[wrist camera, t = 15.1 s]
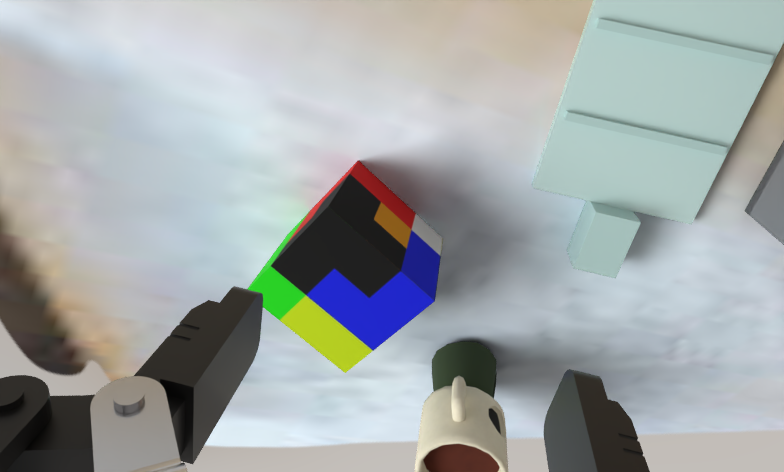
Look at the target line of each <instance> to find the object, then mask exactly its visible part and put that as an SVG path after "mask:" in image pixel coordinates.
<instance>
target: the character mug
mask: <svg viewBox="0 0 784 472" xmlns="http://www.w3.org/2000/svg"><path fill="white" fill-rule="evenodd" d="M496 375H497V371H496V359H495V357H494V356H493V354H492V353H491V351H490V350H489V349H487V348H485V347H484V346H482V345H481V344H479V343H476V342H457V343H452V344H447V345H446V346H444V347H443V348H441V349H439V350H438V351H437V352H436V354H435V356H434V358H433V359H432V378H433V390H434V392H432V393H431V395H430V396H429V397H428V398H427V399H426V401H425V402H424V405H423V409H422V415H421V423H420V431H419V438H418V446H417V454H416V462H415V472H508V461H507V444H506V443H507V442H506V427H505V417H504V413H503V410H502V408H501V406H500V405H499V404H498V403H497V402H496V401H495V400H494V393H495V387H496Z"/></svg>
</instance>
